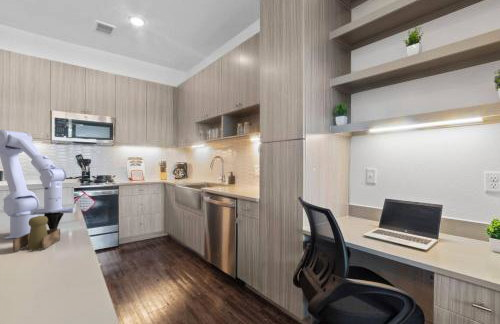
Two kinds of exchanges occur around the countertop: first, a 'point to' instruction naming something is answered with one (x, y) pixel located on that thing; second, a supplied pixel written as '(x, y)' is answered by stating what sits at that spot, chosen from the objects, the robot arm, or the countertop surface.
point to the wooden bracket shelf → (46, 241)
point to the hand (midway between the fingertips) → (53, 231)
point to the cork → (37, 232)
